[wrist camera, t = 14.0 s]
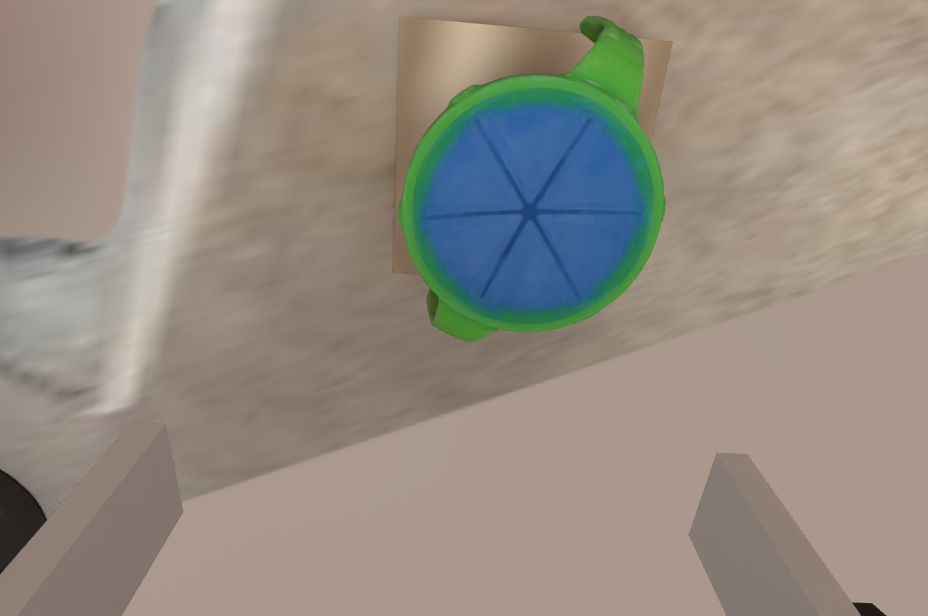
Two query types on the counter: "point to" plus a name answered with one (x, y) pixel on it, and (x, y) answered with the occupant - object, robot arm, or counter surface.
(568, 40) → the maple block
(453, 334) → the snack cup
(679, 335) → the counter surface
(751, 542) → the robot arm
